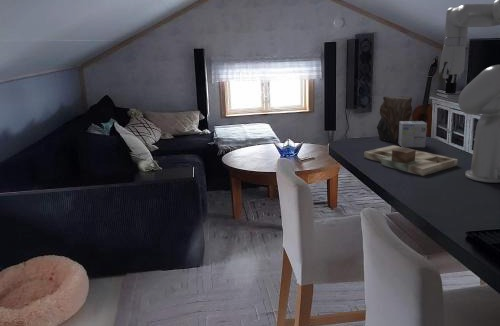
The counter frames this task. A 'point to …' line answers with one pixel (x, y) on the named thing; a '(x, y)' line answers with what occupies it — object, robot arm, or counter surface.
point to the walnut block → (403, 155)
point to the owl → (393, 116)
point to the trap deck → (420, 166)
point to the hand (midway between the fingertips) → (450, 93)
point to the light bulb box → (412, 133)
